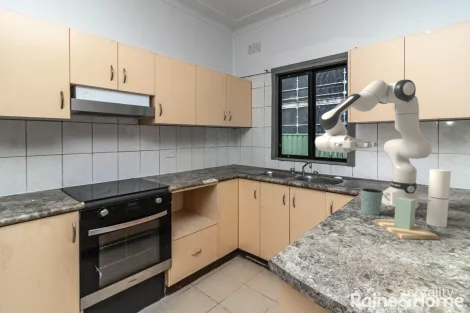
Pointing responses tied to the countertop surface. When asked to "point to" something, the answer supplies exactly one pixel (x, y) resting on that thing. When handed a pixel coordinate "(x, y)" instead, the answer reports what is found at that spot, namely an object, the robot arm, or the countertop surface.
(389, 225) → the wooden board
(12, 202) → the countertop surface
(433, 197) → the cylindrical container
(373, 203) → the teal plant pot
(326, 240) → the countertop surface
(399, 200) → the mint green rectangular block
